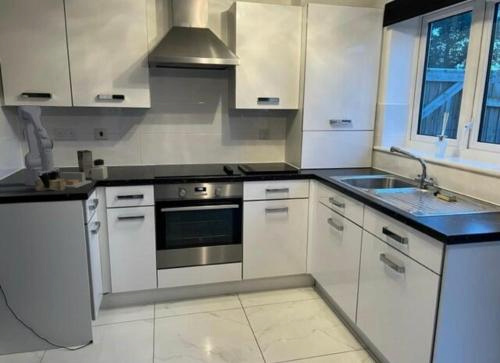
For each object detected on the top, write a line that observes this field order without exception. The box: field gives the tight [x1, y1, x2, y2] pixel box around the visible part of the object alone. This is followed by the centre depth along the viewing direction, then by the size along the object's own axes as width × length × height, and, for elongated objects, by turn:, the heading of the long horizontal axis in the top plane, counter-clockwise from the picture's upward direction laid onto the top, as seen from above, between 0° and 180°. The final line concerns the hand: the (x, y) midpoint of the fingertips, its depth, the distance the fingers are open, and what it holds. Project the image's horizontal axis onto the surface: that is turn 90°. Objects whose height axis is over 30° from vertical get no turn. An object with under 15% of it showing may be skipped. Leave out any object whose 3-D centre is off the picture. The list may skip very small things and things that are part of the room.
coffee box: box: [76, 149, 94, 178], centre depth 233 cm, size 9×6×16 cm
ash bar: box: [34, 179, 66, 192], centre depth 196 cm, size 14×4×5 cm, turn 85°
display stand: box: [56, 171, 92, 189], centre depth 209 cm, size 20×15×6 cm
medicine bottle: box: [91, 158, 109, 181], centre depth 224 cm, size 7×7×12 cm
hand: (50, 186), depth 196 cm, fingers closed on ash bar, 4 cm apart
